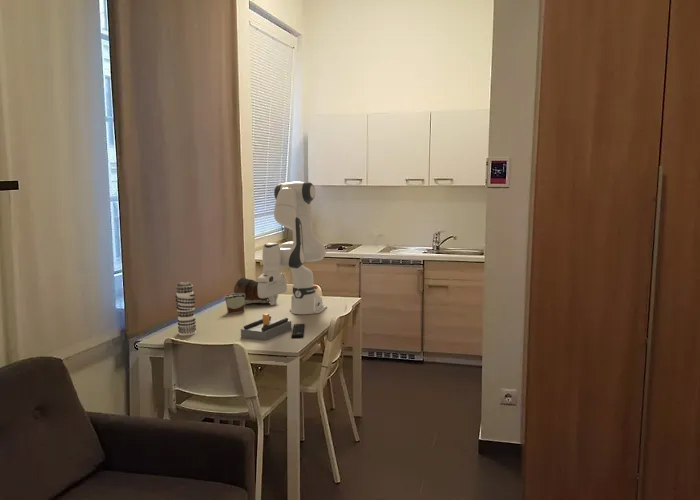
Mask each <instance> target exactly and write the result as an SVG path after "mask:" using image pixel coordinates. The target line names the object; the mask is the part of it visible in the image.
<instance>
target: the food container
mask: <svg viewBox="0 0 700 500" xmlns="http://www.w3.org/2000/svg"><path fill="white" fill-rule="evenodd" d="M245 297H246V295H245V294H244V293H234V292H231V293H227V294H225V295H224V298H223V299H224V301H225V304H226V310H227V314H228V315H231V314H237V313H242V312H245V306H246V305H245Z"/></svg>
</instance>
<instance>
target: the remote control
mask: <svg viewBox="0 0 700 500" xmlns="http://www.w3.org/2000/svg"><path fill="white" fill-rule="evenodd" d="M305 325H306V324H305V323H294V324H293V328H292V333H291V334H292V335H291V339H303V338H304V334H305V327H306V326H305Z"/></svg>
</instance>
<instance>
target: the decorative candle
mask: <svg viewBox="0 0 700 500" xmlns="http://www.w3.org/2000/svg"><path fill="white" fill-rule="evenodd" d="M193 286H194V285H193V284H192V283H191V282H190V281H181V282H178V284H177V285H176V286H175V289H176V293H175V294H176V295H175V297H174V298H175V302H176V304H175V305H176V308H175V309H176V311H177V315H178V316H177V325H178V326H177V329H178V333H177V334H178V335H179V336H192V335H195V334H196V333H197V331H196V330H197V328H196V327H197V322H196V320H197V319H196V315H195V309H196V308H195V305H194V304H195V303H196V302H195V300H196V298H194V296H196V294H194V290H193Z"/></svg>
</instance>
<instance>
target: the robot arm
mask: <svg viewBox="0 0 700 500" xmlns="http://www.w3.org/2000/svg"><path fill="white" fill-rule="evenodd" d="M273 191H274V192H273V195H274V198H275V204H274V211H273V217H274V219H275V222H277V224H278V225H281V226H282V227H285V228H288V229H289V230H291V231H292V241H287V242H286V241H285V242H283V243H281V244H279V243H278V242H273V241H272V242H267V243H265V244H264V245H263V247H262V257H261V259H262V264H263V268H262V273H261V274H260V275H259V276H258V277H257V278H256V282H259V283H258V296H259V298H269V300H270V302H269V304H270V305H271V306H274V305H276V304H277V300H278V297H279V295H280V294H283V293H286V292H287V290H288V287H287V280H286V277H285V275H284V274H283V273H282V268H289V269H290V271H291V274H292V275H291V276H292V283H293V284H292V285H293V286H292V296H291V302H290V303H291V304H290V305H291V306H290V308H289V312H291V313H292V314H294V315H312V314H320V313H322V312H323V311H324V310H325V309H327V308H328V305H325V304H323V297H322V296H320V295H319V294H318V293H317V291H316V290H317V289H318V288H319V287H318V285H315V284H314V273H313V271H312V270H311V269H310V268H308V267H306V266H305V265H303V264H305V262H317V261H322V260H323V259H324V258H325V256H326V254H327V250H326V249H327V248H326V245H324V243H323V242H321V241H320V240H319V239H318V238H317V236H316V235H315V233H314V230H313V223H312V222H313V221H312V206H311V202H312V201H313V200H314V198H315V196H316V189H315V186H314V184H313V183H312V182H310V181H291V182H284V183H283V182H281V183H278V184H277V185H276V186H275V188H274V190H273Z"/></svg>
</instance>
